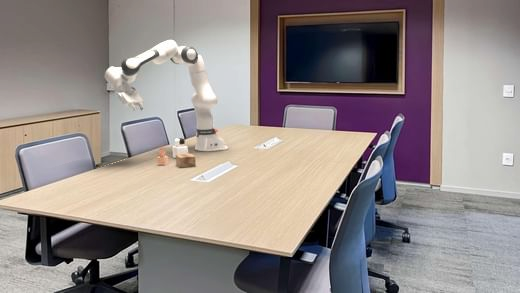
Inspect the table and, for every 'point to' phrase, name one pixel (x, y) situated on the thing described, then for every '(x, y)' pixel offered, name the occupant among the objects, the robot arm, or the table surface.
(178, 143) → the medicine bottle
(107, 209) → the table surface
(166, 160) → the vase
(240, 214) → the table surface
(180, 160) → the walnut block
